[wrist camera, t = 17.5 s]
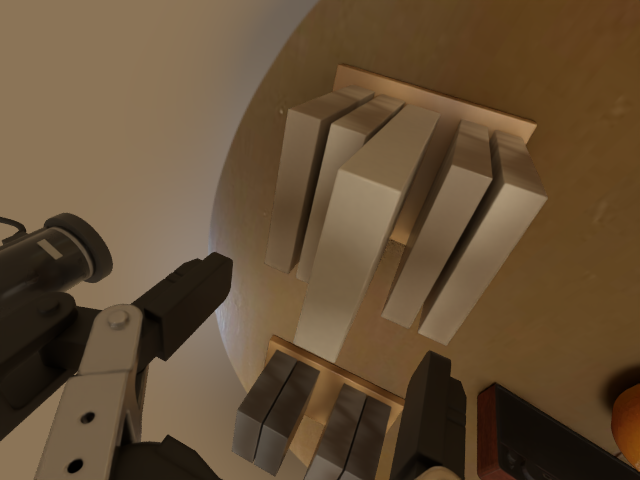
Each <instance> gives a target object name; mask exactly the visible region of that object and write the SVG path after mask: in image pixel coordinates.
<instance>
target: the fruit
mask: <svg viewBox="0 0 640 480" xmlns="http://www.w3.org/2000/svg"><path fill="white" fill-rule="evenodd" d="M611 429H612V434H613V437H614V439H615V441H616V444H617V446H618V447H619V449H620V451H621V452H622V453H623V455H624V456H625V458H626V459H627V460H628V461H629V462H630V463H631V464H632V465H633V466H634V467H635V468H636V469H637V470H638V471H639V472H640V383H639V384H637V385H635V386H633V387H631V388H629V389H627V390H626V391H624V392H623V393H621V394H620V395H619V396H618V398H617V399H616V401H615V403H614V406H613V411H612V421H611Z"/></svg>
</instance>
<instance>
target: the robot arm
mask: <svg viewBox="0 0 640 480" xmlns="http://www.w3.org/2000/svg"><path fill="white" fill-rule="evenodd" d="M0 222H1V223H5V224H9V225H12V226H15V227H16V228H18V229H19V231H18V232H17V233H15V234H14V235H13V236H11V237H9V238H6V239H4V240H2V243H3V246H0V441H1V440H2V439H3V438H4V437H6V436H7V435H8V434H9V433H10V432H11V431H12V430H13V429H14V428H15V427H17V426H18V425H19V424H20V423H21V422H22V421H23V420H24V419H25V418H27V417H28V416H29V415H30V414H31V413H32V412H33V411H34V410H35V409H36V408H38V407H39V406H40V405H41V404H42V403H43V402H44V401H45V400H46V399H47V398H48V397H50V396H51V395H52V394H53V393H54V392H55V391H56V390H57V389H58V388H60V386H62V385H63V384H64V383H65V382H66V381H67V383H66V385H65V387H64V391H63V393H62V396H61V399H60V402H59V406H58V408H57V412H56V414H55V417H54V420H53V423H52V426H51V429H50V432H49V435H48V438H47V441H46V444H45V447H44V450H43V453H42V457H41V459H40V462H39V465H38V468H37V471H36V474H35V477H34V480H222V479H220V478H219V477H218V476H217V475H216V474H215V473H214V472H213V470H212V469H211V468H210V467H209V466H208V465H207V463H206V462H205V461H204V460H203V459H202V458H201V457H200V455H199V454H198V453H197V452H196V451H195V450H193V449H191V448H189V447H188V446H186V445H185V444H183V443H181V442H180V441H178V440H176V439H175V438H173V437H171V436H170V435H167V436H166V437H165V439H164V440H163V441H162V442H161V443H160V442H150V441H149V442H141V433H142V411H143V404H144V397H145V390H146V383H147V376H148V369H149V363H150V362H151V361H152V360H153V359H154V358H155V357H158V358H160V359H162V360H164V361H167V360H168V359H169V358H170V357H171V356H172V354H173V353H174V352H175V351H176V350H177V349H178V348H179V347H180V346H181V345H182V344H183V343H184V342H185V341H186V340H187V339H188V338H189V337H190V336H191V335H192V334H193V333H194V332H195V331H196V329H197V328H198V327H199V326H200V325H201V324H202V323H203V322H204V321H205V320H206V319H207V318H208V317H209V316H210V315H211V314H212V313H213V312H214V311H215V310H216V309H217V308H218V307H219V306H220V305H221V304H222V303H223V302H224V300H225V299H226V298H227V296H228V294H229V292H230V288H231V279H232V268H233V261H232V259H230V258H228V257H226V256H223V255H221V254H219V253H217V252H213V253H211V254H210V255H209V256H207V257H206V258H205V259H204V260H200V259H198V258H197V259H194V260H191V261H189V262H186V263H184V264H182V265H181V266H180V267H179V268H177V269H176V270H175V271H174V272H173V273H171V274H169V275H168V276H167V277H166V278H165V279H163V280H162V281H160V282H159V283H158V284H156V285H155V286H154V287H152V288H151V289H150V290H149V291H147V292H146V293H145V294H143V295H142V296H141V297H140V298H138V299H137V300H136V301H134V302H133V303H131V304H118V305H114V306H111V307H108V308H106V309H104V310H97V309H91V308H85V307H79V306H76V303H75V300H74V298H73V297H72V296H71V295H70V294H68V293H64V292H66V291H67V290H69V289H71V288H72V287H74V286H75V285H77V284H79V283H80V282H82V281H83V280H86V279H88V278H90V277H91V276H93V275H94V274H95V271H96V265H95V261H94V258H93V256H92V254H91V252H90V251H89V249H88V248H87V246H86V245H85V244H84V242H83V241H82V240H81V239H80V238H79V237H78V236H77V235H76V234H74V233H73V232H72V231H70V230H68V229H67V228H65V227H62V226H53V227H49V226H46V227H44V228H41V229H39V230H37V231H34V232H32V233H30V234H27V233H26V229H25V227H24V225H22V224H21V223H19V222H17V221H14V220H11V219H7V218H2V217H0ZM77 371H78V373H77V374H76V375H74V374H75V373H76V372H77ZM450 372H451V360H450V359H448V358H446V357H443V356H441V355H439V354H437V353H435V352H432V351H430V350H429V351H428V352H427V353H426V355H425V357H424V358H423V360H422V361H421V363H420V364H419V366H418V367H417V369H416V371H415V372H414V374H413V375H412V377H411V380H410V382H409V385H408V388H407V393H406V398H405V403H404V408H403V413H402V418H401V423H400V428H399V433H398V438H397V443H396V448H395V453H394V458H393V463H392V468H391V473H390V479H389V480H465V477H464V469H465V433H466V428H465V425H466V415H465V414H466V395H465V392H464V389H463V386H462V384H461V381H459V380H456V379H454V378H452V377H450Z"/></svg>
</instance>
